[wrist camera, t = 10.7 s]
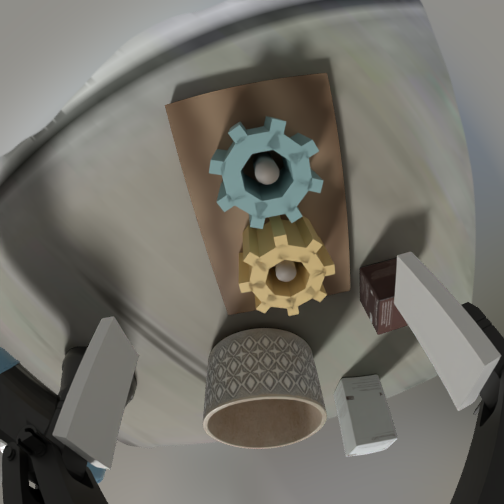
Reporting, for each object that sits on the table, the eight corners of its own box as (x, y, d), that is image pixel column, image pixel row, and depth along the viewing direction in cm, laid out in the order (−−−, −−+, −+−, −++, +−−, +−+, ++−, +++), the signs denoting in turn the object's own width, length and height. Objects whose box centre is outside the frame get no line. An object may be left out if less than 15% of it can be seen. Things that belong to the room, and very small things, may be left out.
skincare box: (377, 373, 49) (401, 436, 36) (367, 390, 51) (387, 450, 38) (338, 377, 48) (357, 446, 35) (330, 395, 51) (345, 459, 38)
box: (358, 266, 37) (379, 299, 30) (398, 256, 36) (423, 286, 30) (359, 301, 39) (376, 336, 33) (395, 291, 39) (417, 323, 32)
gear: (228, 211, 30) (225, 236, 25) (207, 128, 26) (198, 134, 21) (312, 195, 30) (327, 216, 24) (298, 110, 25) (312, 112, 20)
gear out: (268, 294, 35) (272, 327, 30) (223, 240, 32) (220, 269, 26) (331, 257, 33) (347, 286, 28) (293, 195, 30) (305, 217, 24)
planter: (331, 352, 44) (350, 416, 33) (261, 396, 50) (265, 455, 39) (258, 303, 39) (264, 379, 28) (188, 360, 44) (179, 427, 33)
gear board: (228, 305, 39) (227, 343, 32) (169, 105, 26) (149, 105, 20) (345, 281, 38) (362, 315, 31) (321, 74, 25) (343, 67, 19)
